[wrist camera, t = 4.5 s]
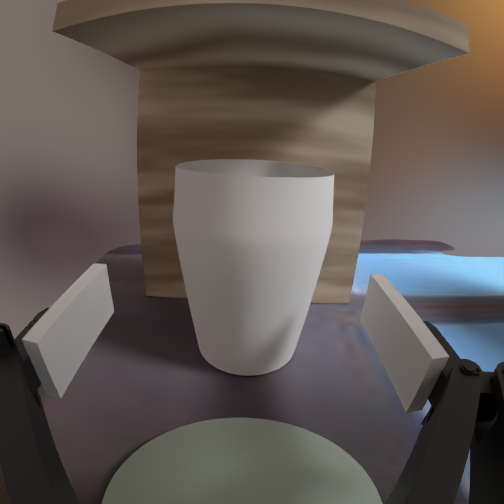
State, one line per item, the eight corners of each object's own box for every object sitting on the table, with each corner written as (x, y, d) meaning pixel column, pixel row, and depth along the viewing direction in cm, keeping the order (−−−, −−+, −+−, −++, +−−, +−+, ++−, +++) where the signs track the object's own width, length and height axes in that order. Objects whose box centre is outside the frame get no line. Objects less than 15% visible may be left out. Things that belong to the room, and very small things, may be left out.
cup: (163, 378, 17) (142, 173, 13) (200, 305, 26) (199, 157, 21) (313, 397, 17) (352, 185, 12) (309, 316, 25) (328, 165, 21)
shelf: (396, 401, 16) (466, 25, 8) (94, 391, 15) (57, 3, 8) (344, 295, 28) (369, 67, 21) (150, 287, 28) (147, 56, 21)
